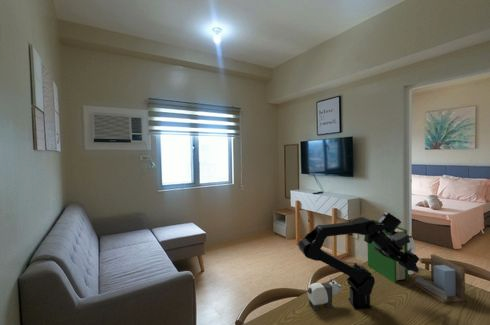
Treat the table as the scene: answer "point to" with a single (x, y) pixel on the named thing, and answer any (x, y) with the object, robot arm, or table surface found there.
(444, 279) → the blue-grey rectangular block
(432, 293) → the wooden display stand
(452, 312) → the table surface
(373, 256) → the hardback book
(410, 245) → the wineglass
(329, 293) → the giant panda
